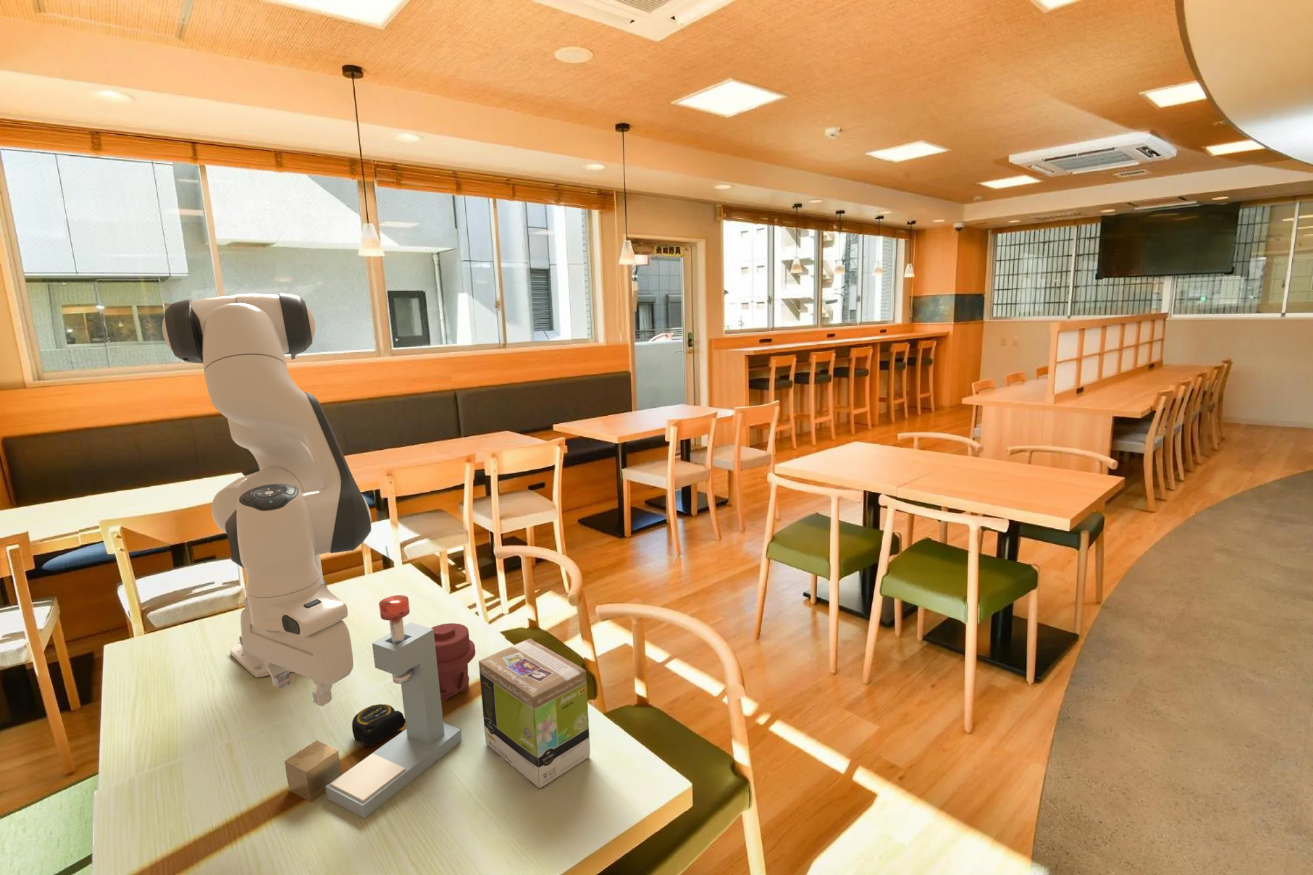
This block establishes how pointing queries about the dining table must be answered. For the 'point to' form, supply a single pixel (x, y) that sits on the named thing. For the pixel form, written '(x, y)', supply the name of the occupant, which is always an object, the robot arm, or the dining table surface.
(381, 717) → the tape measure
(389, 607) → the button
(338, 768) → the block
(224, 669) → the dining table surface
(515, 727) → the tea box
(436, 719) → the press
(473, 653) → the mechanical component
